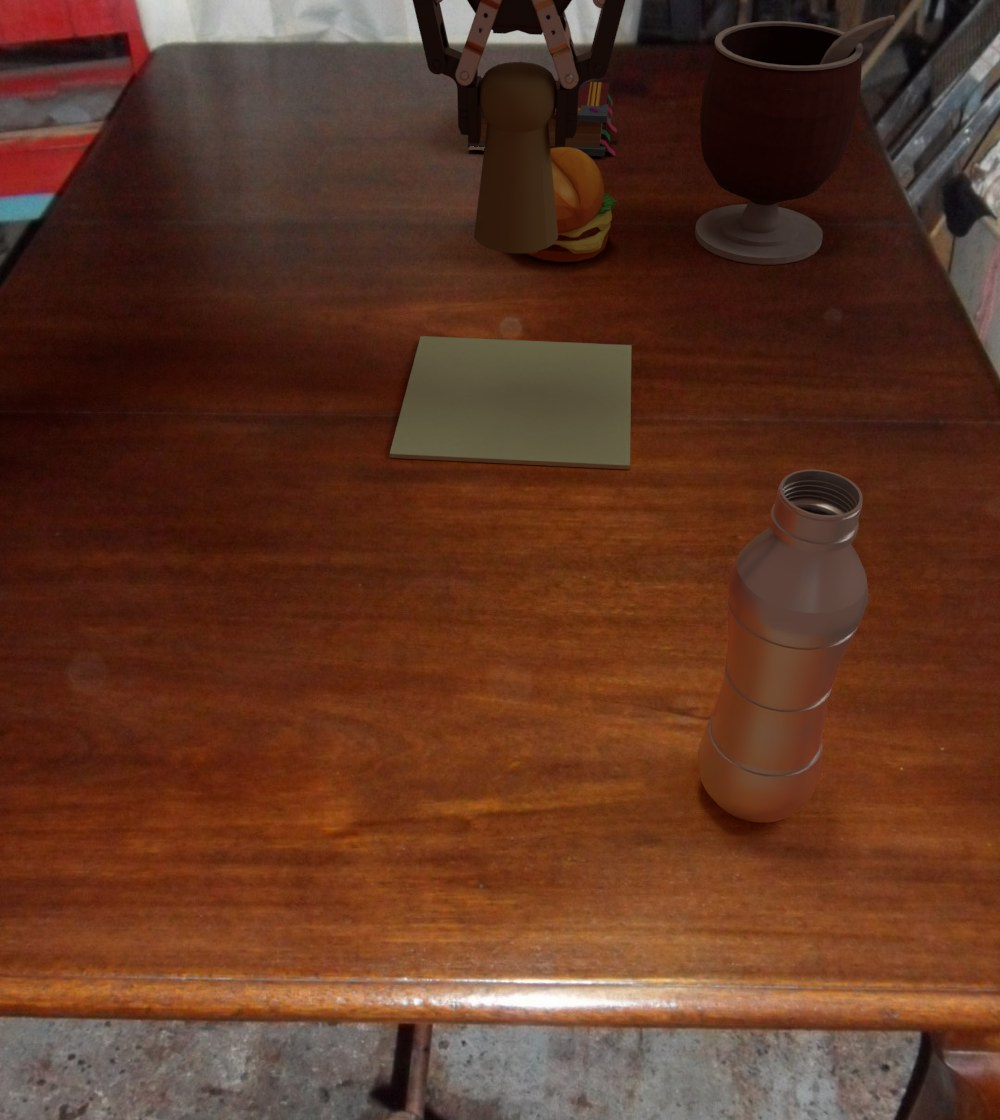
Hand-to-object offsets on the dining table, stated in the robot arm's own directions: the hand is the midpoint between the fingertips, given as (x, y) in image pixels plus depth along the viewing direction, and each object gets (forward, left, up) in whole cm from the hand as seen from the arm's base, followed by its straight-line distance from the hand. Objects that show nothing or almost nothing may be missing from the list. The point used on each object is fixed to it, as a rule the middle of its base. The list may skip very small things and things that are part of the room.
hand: (517, 140), depth 80 cm
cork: (0, 0, -7) cm, 7 cm away
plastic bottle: (+16, -40, -20) cm, 47 cm away
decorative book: (-1, +56, -20) cm, 60 cm away
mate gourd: (+22, +32, -20) cm, 44 cm away
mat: (0, 0, -20) cm, 20 cm away
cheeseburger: (+2, +28, -20) cm, 35 cm away
